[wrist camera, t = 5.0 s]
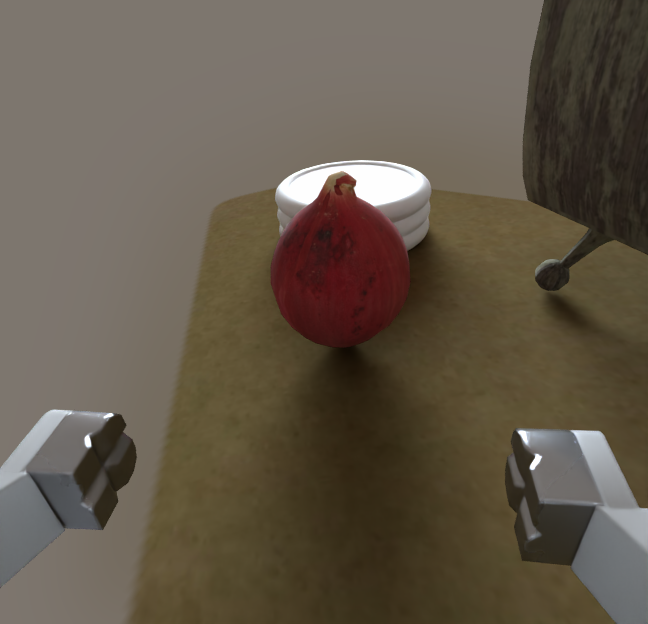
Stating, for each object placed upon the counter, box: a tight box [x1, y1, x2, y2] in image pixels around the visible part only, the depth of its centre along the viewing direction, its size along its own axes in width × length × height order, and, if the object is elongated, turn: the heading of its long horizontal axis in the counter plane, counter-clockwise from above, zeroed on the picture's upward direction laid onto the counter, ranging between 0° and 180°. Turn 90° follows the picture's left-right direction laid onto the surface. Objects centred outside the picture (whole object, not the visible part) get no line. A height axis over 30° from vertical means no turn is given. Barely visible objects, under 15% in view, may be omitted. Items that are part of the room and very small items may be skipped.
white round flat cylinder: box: [275, 161, 431, 251], centre depth 32 cm, size 10×10×4 cm
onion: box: [271, 170, 411, 348], centre depth 20 cm, size 6×6×8 cm
